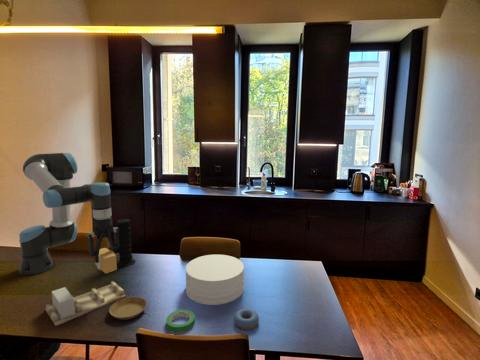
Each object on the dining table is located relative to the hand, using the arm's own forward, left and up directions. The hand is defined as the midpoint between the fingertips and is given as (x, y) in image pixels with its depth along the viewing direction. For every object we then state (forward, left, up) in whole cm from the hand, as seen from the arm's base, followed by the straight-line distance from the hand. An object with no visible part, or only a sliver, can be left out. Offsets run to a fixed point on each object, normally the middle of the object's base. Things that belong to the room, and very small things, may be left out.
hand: (106, 266), depth 129 cm
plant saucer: (+19, +1, -15) cm, 24 cm away
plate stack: (+31, +39, -15) cm, 52 cm away
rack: (0, -9, -14) cm, 17 cm away
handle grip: (-27, +21, -14) cm, 37 cm away
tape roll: (+41, +12, -15) cm, 45 cm away
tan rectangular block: (0, 0, 0) cm, 1 cm away
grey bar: (0, -18, -13) cm, 22 cm away
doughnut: (+59, +30, -15) cm, 68 cm away
